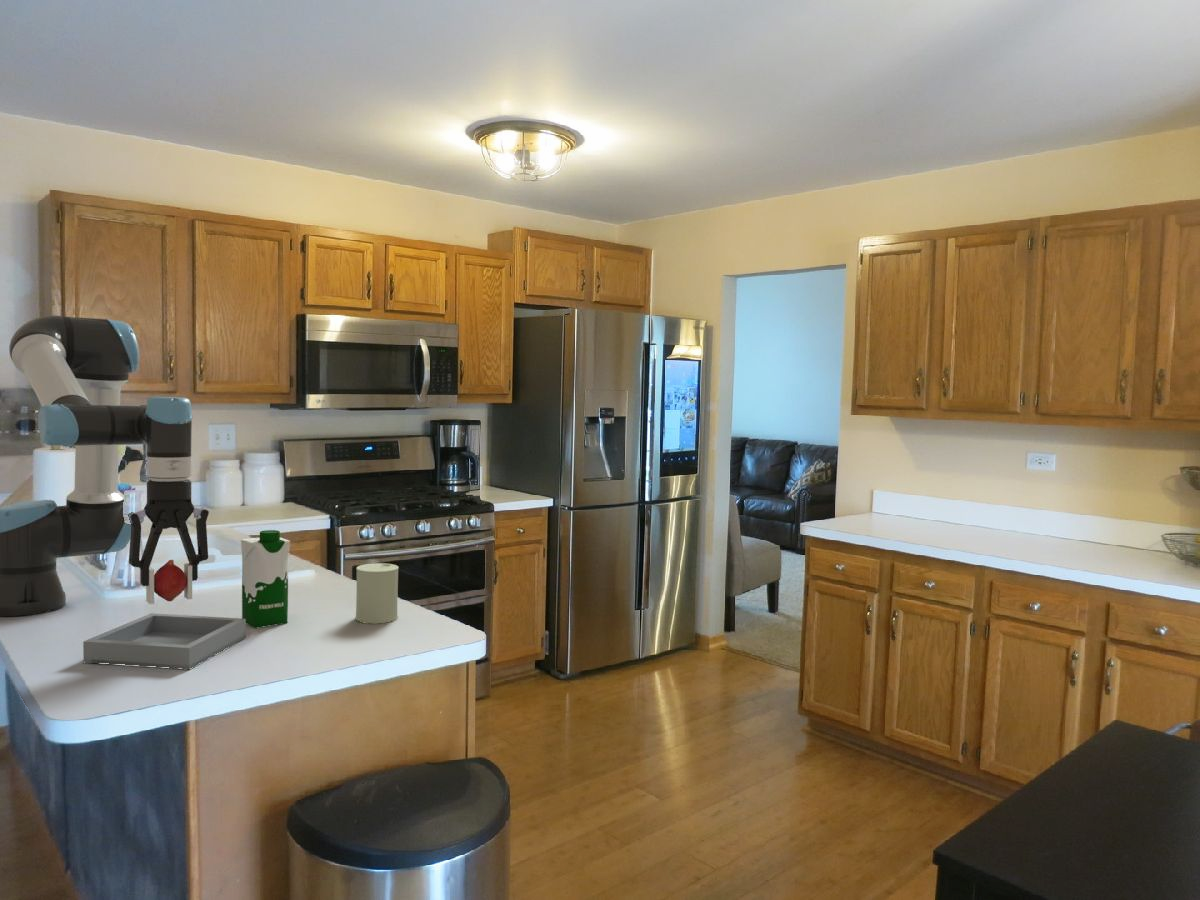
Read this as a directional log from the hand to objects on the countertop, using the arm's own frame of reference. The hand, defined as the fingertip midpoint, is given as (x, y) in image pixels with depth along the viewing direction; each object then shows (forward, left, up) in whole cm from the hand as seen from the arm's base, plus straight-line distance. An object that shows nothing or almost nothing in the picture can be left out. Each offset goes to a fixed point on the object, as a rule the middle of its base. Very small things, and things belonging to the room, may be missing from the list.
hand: (169, 599), depth 162 cm
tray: (0, 0, -10) cm, 10 cm away
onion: (0, 0, 0) cm, 0 cm away
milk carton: (+8, +22, -10) cm, 25 cm away
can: (+30, +30, -10) cm, 44 cm away
